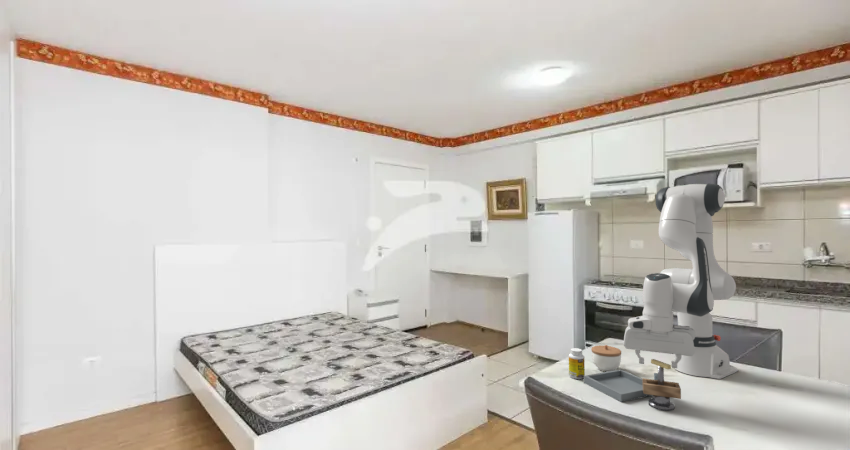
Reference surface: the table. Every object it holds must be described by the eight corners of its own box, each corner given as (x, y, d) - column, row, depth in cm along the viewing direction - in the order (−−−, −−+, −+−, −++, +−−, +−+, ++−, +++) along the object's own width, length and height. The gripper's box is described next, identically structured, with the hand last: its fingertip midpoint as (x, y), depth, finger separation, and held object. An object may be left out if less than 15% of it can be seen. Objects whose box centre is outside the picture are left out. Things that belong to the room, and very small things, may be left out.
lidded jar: (623, 367, 161) (622, 343, 161) (619, 376, 152) (619, 351, 152) (594, 362, 167) (594, 339, 167) (589, 371, 158) (588, 346, 158)
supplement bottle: (578, 380, 148) (578, 352, 148) (565, 376, 153) (565, 349, 153) (587, 377, 151) (587, 350, 151) (575, 373, 156) (574, 346, 156)
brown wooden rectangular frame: (675, 384, 134) (675, 375, 134) (680, 399, 123) (680, 389, 123) (641, 380, 138) (641, 371, 138) (643, 393, 127) (643, 384, 127)
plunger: (643, 402, 130) (642, 360, 130) (659, 399, 132) (659, 357, 132) (662, 412, 123) (662, 367, 123) (679, 408, 126) (679, 364, 125)
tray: (620, 375, 152) (620, 369, 152) (660, 393, 136) (660, 386, 136) (583, 382, 147) (583, 375, 146) (621, 402, 131) (621, 394, 131)
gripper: (693, 324, 132) (693, 367, 132) (623, 318, 141) (623, 358, 141) (696, 328, 127) (696, 373, 127) (623, 322, 135) (623, 363, 135)
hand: (657, 365), depth 134 cm, fingers open, 8 cm apart
